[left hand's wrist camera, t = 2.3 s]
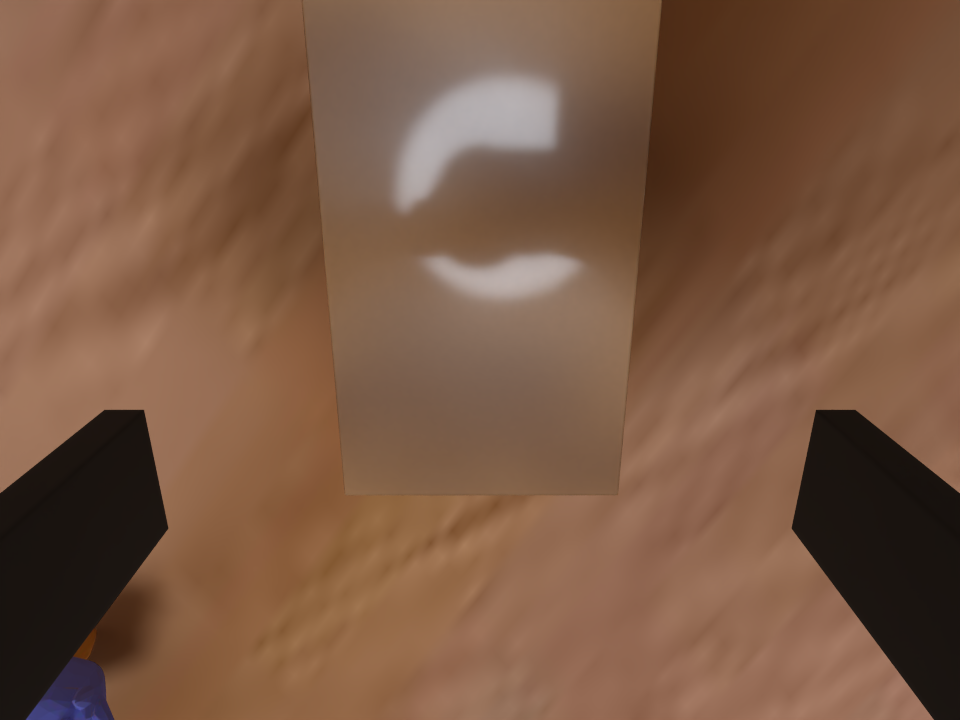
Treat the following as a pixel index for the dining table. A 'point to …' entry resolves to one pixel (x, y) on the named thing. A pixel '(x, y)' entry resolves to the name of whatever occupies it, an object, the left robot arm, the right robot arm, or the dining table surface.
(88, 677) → the toy
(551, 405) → the slab
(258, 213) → the dining table surface
